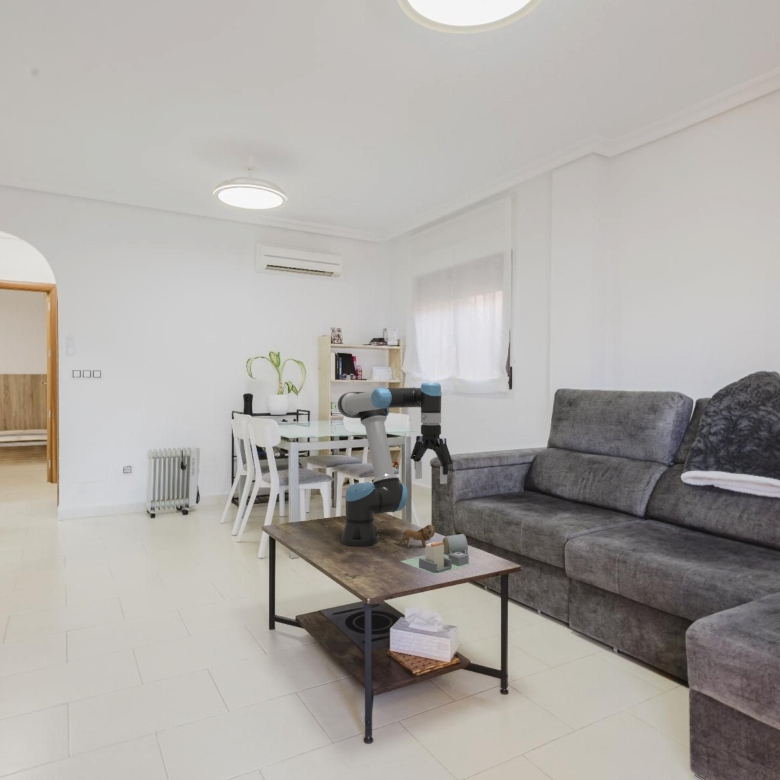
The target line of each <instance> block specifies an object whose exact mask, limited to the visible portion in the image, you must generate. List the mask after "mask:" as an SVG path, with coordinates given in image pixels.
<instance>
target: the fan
mask: <svg viewBox="0 0 780 780" xmlns="http://www.w3.org/2000/svg"><path fill="white" fill-rule="evenodd" d="M448 556H449V559H451V560H452V564H454V565H456V566H462V565H465V564H468V563H470V559H469V554H468V553H467V554H464V553H461V552H455V553H452V554H448Z"/></svg>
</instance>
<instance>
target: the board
mask: <svg viewBox="0 0 780 780" xmlns="http://www.w3.org/2000/svg"><path fill="white" fill-rule="evenodd" d="M444 557H445V558H448V559H449V555H448V554H444ZM419 558H422V559H425V560H426V554H423V555H420V556H416V557H411V558H408V559H404V560H400V561H399V562H400V563H403V564H406V565H408V566H410V567H413V568H416V569H419V570H421V571H424V572H426V573H429V574H432V575H433V576H436V575H438V574H443V573H446V572H450V571H452V570H455V569H459V568H462V567H463V568H464V567H466V566H469V565H471V563H470V562H469V563H468V564H465V565H462V566H456V565H454V564H452V568H451V569H450V570H447V571H443V572H440V573H433V572H430V571H428V570H425V569H422V568H420V567H419Z"/></svg>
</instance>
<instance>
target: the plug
mask: <svg viewBox="0 0 780 780" xmlns="http://www.w3.org/2000/svg"><path fill="white" fill-rule="evenodd" d="M425 545H426V547H425V555H426V560H428V561H431V562H433V563H436V564H437V569H441V568H444V555H445V552H444V545H443V541H434V542H429V543H425Z"/></svg>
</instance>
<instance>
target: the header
mask: <svg viewBox="0 0 780 780" xmlns="http://www.w3.org/2000/svg"><path fill="white" fill-rule="evenodd" d="M419 567H420V568H422V569H425V570H428V571H430V572H433V573H439V574H441V573H440V572H443V571H446V572H448V571H447V570H450V569H451V568H452V560H451V559H448V558H445V557H444V568H441V569H437V564H436V563H433V562H431V561H428V560H425V559H422V558H419ZM450 571H451V570H450ZM443 573H444V572H443Z"/></svg>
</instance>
